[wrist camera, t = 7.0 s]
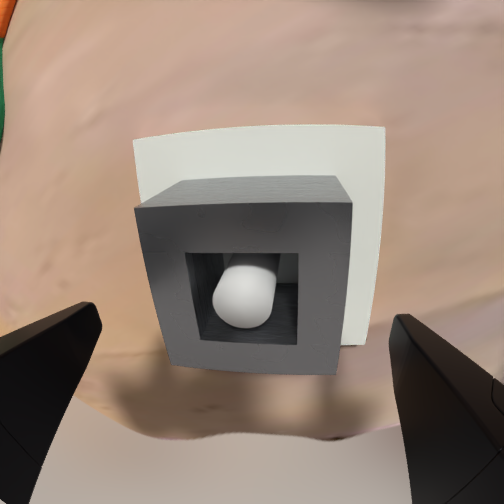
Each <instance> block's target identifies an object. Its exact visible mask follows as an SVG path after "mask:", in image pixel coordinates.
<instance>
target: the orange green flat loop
mask: <svg viewBox="0 0 504 504" xmlns="http://www.w3.org/2000/svg"><path fill="white" fill-rule="evenodd" d="M15 3H16V0H0V142H1V138H2V133H3V127H4V116H5V103H4V89H3V67H2V47H3V40H4V37H5V34H6V30H7V27H8V24H9V21H10V17H11V14H12V11H13V8H14V6H15Z"/></svg>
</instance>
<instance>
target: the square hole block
mask: <svg viewBox="0 0 504 504" xmlns="http://www.w3.org/2000/svg"><path fill="white" fill-rule="evenodd" d="M134 211H135V217H136V222H137V228H138V233H139V238H140V243H141V248H142V253H143V258H144V262H145V267H146V272H147V276H148V280H149V285H150V289H151V293H152V297H153V301H154V305H155V309H156V313H157V317H158V320H159V324H160V328H161V331H162V335H163V338H164V342H165V345H166V349H167V352H168V356H169V359H170V362H171V365H177V366H184V367H193V368H202V369H211V370H222V371H234V372H248V373H265V374H291V375H336V371H337V365H338V358H339V351H340V345H341V337H342V330H343V322H344V314H345V305H346V296H347V285H348V275H349V263H350V249H351V233H352V212H353V202H352V200H351V199H350V197H349V196H348V194H347V192H346V191H345V189H344V188H343V186H342V185H341V183H340V181H339V180H338V178H337V177H336V175H285V176H247V177H225V178H207V179H192V180H182V181H180V182H178V183H176V184H174V185H173V186H171V187H169V188H167V189H165V190H164V191H162V192H160V193H159V194H157V195H155V196H153V197H152V198H150V199H148V200H147V201H145V202H143V203H142V204H140V205H138V206H137V207H135V208H134ZM223 253H298V284H293V283H276V287H275V293H274V299H273V305H272V311H271V314H270V316H269V318H268V319H267V320H266V321H265V322H264V323H262V324H261V325H259V326H256V327H252V328H239V327H235V326H232V325H230V324H228V323H226V322H225V321H224V320H222V319H221V318H220V317H219V316H218V314H217V313H216V311H215V309H214V306H213V294H214V292H215V289H216V287H217V285H218V283H219V281H220V279H221V277H222V275H223V273H224V271H225V268H224V259H223Z"/></svg>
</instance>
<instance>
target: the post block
mask: <svg viewBox="0 0 504 504" xmlns="http://www.w3.org/2000/svg"><path fill="white" fill-rule="evenodd" d="M133 146H134V155H135V163H136V171H137V178H138V186H139V192H140V199H141V204H142V203H143V202H145V201H147V200H148V199H150V198H152V197H153V196H155V195H157V194H159V193H160V192H162V191H164V190H165V189H167V188H169V187H171V186H173V185H174V184H176V183H178V182H180V181H182V180H192V179H207V178H225V177H247V176H285V175H336V177H337V178H338V180H339V181H340V183H341V185H342V186H343V188H344V189H345V191H346V192H347V194H348V196H349V197H350V199H351V200H352V202H353V212H352V233H351V249H350V263H349V275H348V285H347V296H346V305H345V314H344V322H343V330H342V337H341V345H365V341H366V336H367V331H368V326H369V320H370V314H371V308H372V302H373V296H374V289H375V282H376V275H377V267H378V258H379V249H380V240H381V229H382V217H383V202H384V183H385V127H378V126H360V125H329V124H294V125H263V126H245V127H230V128H218V129H208V130H198V131H189V132H181V133H173V134H166V135H159V136H152V137H146V138H140V139H135V140H133ZM223 259H224V268H225V271H224V273H223V275H222V277H221V279H220V281H219V283H218V285H217V287H216V289H215V292H214V294H213V306H214V309H215V311H216V313H217V314H218V316H219V317H220V318H221V319H222V320H224V321H225V322H226V323H228V324H230V325H232V326H235V327H239V328H252V327H256V326H259V325H261V324H262V323H264V322H265V321H266V320H267V319H268V318H269V316H270V314H271V311H272V305H273V299H274V293H275V287H276V283H293V284H298V253H223Z"/></svg>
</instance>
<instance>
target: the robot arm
mask: <svg viewBox="0 0 504 504" xmlns="http://www.w3.org/2000/svg"><path fill="white" fill-rule="evenodd" d="M101 331H102V322H101V319H100V317H99V314H98V311H97V308H96V306H95V304H94V303H92V302H81V303H78V304H76V305H73V306H71V307H69V308H66V309H64V310H62V311H59V312H57V313H55V314H52V315H50V316H48V317H45V318H43V319H41V320H38V321H36V322H34V323H31V324H29V325H27V326H25V327H22V328H20V329H18V330H15V331H13V332H11V333H9V334H6V335H4V336H2V337H0V499H1V500H2V501H3V502H5V503H6V504H29V502H30V499H31V496H32V493H33V490H34V487H35V484H36V482H37V479H38V476H39V474H40V471H41V468H42V467H41V466H42V465H43V463H44V460H45V458H46V455H47V453H48V450H49V448H50V445H51V443H52V441H53V438H54V436H55V434H56V431H57V429H58V427H59V425H60V422H61V420H62V418H63V416H64V413H65V411H66V409H67V407H68V405H69V403H70V400H71V398H72V396H73V394H74V392H75V390H76V388H77V386H78V384H79V382H80V380H81V378H82V376H83V374H84V372H85V370H86V368H87V365H88V363H89V361H90V358H91V355H92V353H93V350H94V348H95V346H96V343H97V341H98V338H99V336H100V333H101ZM389 352H390V359H391V368H392V377H393V387H394V394H395V399H396V404H397V409H398V414H399V419H400V424H401V429H402V434H403V440H404V446H405V452H406V459H407V464H408V472H409V479H410V487H411V496H412V504H504V385H503V384H502V383H501V382H499V381H498V380H497V379H496V378H494V379H493V376H492V375H490V374H489V373H488V372H487V371H485V370H484V369H483V368H481V367H480V366H479V365H477V364H476V363H475V362H474V361H472V360H471V359H470V358H468V357H467V356H466V355H464V354H463V353H462V352H460V351H459V350H458V349H457V348H455V347H454V346H453V345H451V344H450V343H449V342H447V341H446V340H444V339H443V338H442V337H440V336H439V335H438V334H436V333H435V332H434V331H432V330H431V329H430V328H428V327H427V326H426V325H424V324H423V323H421V322H420V321H419V320H417V319H416V318H415V317H413V316H412V315H410V314H397V315H396V316H395V317H394V320H393V324H392V328H391V333H390V337H389Z"/></svg>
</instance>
